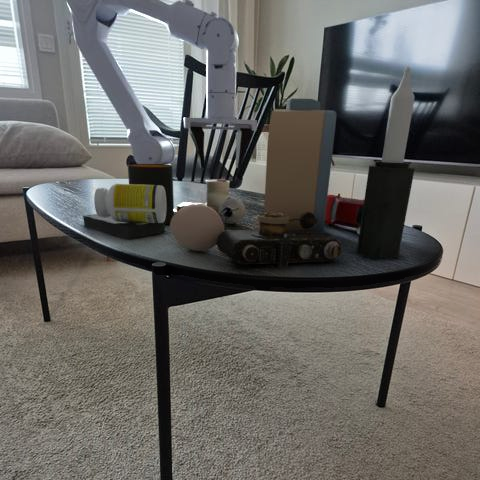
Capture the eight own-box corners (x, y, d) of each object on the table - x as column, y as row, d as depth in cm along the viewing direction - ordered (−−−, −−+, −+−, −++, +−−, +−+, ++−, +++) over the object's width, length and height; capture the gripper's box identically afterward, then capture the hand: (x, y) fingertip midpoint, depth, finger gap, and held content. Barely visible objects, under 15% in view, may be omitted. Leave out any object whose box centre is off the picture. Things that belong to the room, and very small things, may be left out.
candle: (353, 251, 66) (379, 68, 56) (381, 250, 68) (411, 71, 58) (372, 260, 62) (404, 62, 52) (401, 258, 63) (437, 66, 53)
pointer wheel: (201, 205, 88) (201, 178, 86) (218, 203, 91) (218, 177, 89) (216, 208, 85) (216, 180, 83) (233, 206, 88) (234, 179, 86)
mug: (185, 215, 90) (183, 163, 85) (165, 226, 79) (163, 167, 75) (148, 213, 91) (145, 162, 87) (124, 223, 80) (119, 165, 76)
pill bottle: (165, 180, 72) (100, 178, 71) (160, 191, 67) (90, 188, 66) (167, 216, 75) (105, 213, 75) (162, 229, 70) (95, 226, 70)
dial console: (175, 219, 86) (174, 206, 85) (185, 212, 94) (185, 200, 93) (235, 222, 85) (235, 209, 84) (240, 215, 93) (241, 203, 92)
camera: (321, 210, 64) (351, 218, 57) (316, 253, 66) (344, 266, 59) (217, 209, 58) (236, 218, 51) (216, 256, 61) (233, 271, 54)
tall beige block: (321, 250, 66) (338, 95, 58) (262, 245, 68) (270, 94, 59) (324, 225, 85) (337, 106, 76) (277, 222, 87) (285, 105, 78)
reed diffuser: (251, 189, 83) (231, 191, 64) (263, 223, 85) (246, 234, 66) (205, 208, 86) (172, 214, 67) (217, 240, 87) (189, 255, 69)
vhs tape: (166, 232, 74) (165, 220, 73) (128, 239, 69) (126, 226, 68) (121, 221, 83) (120, 210, 82) (84, 226, 78) (83, 215, 77)
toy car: (328, 192, 87) (312, 189, 84) (390, 200, 77) (375, 197, 74) (322, 224, 89) (306, 222, 86) (381, 235, 79) (366, 234, 76)
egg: (199, 256, 58) (159, 248, 65) (234, 252, 63) (193, 245, 70) (199, 205, 56) (157, 202, 63) (235, 205, 61) (193, 202, 68)
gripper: (186, 90, 77) (187, 168, 82) (262, 94, 80) (258, 169, 85) (182, 93, 83) (184, 166, 89) (253, 97, 86) (250, 167, 92)
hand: (220, 167), depth 88 cm, fingers open, 7 cm apart
